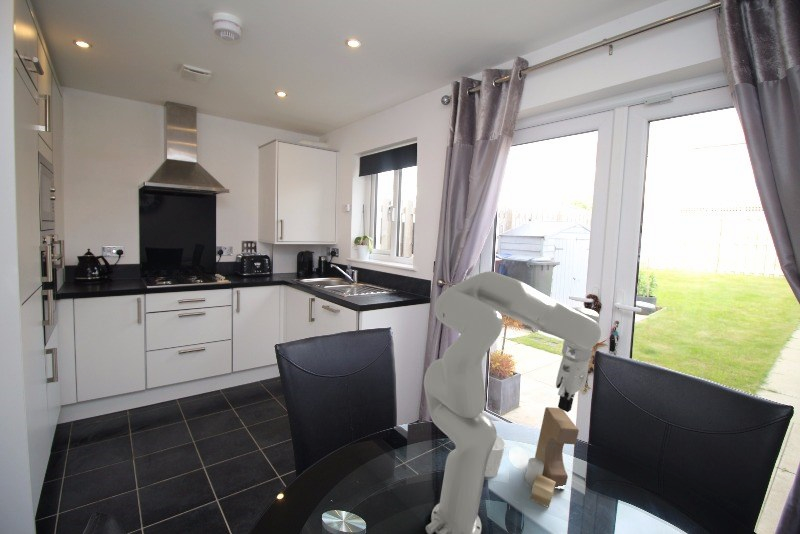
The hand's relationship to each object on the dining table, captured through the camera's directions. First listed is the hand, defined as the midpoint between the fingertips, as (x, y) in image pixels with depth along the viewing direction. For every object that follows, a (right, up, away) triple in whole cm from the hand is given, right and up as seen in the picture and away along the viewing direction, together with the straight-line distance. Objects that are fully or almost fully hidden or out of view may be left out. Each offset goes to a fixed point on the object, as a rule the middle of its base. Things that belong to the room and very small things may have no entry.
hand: (564, 408), depth 115 cm
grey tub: (-9, -22, +2) cm, 24 cm away
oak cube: (-8, -24, -4) cm, 25 cm away
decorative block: (-3, -22, +5) cm, 23 cm away
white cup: (-22, -20, +5) cm, 30 cm away
